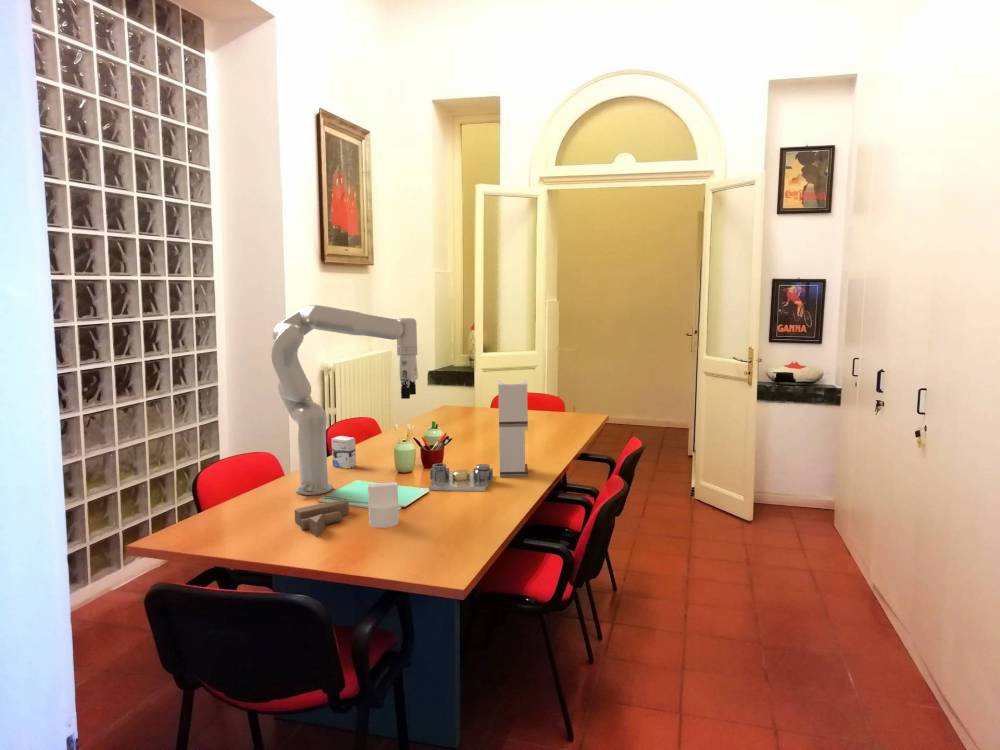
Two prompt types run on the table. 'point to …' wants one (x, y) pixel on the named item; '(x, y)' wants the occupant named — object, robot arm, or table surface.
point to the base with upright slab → (383, 504)
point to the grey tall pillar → (512, 429)
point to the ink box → (343, 452)
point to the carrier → (465, 480)
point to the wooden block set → (321, 515)
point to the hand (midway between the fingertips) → (408, 396)
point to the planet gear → (439, 472)
